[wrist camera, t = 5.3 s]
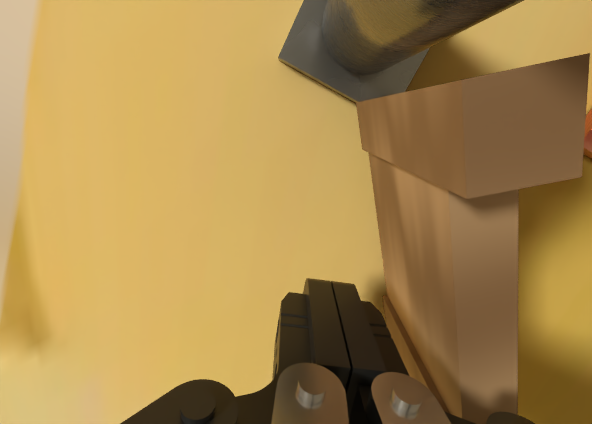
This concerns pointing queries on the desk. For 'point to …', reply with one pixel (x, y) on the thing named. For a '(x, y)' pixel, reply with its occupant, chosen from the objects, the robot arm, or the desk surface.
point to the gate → (466, 217)
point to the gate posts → (380, 42)
